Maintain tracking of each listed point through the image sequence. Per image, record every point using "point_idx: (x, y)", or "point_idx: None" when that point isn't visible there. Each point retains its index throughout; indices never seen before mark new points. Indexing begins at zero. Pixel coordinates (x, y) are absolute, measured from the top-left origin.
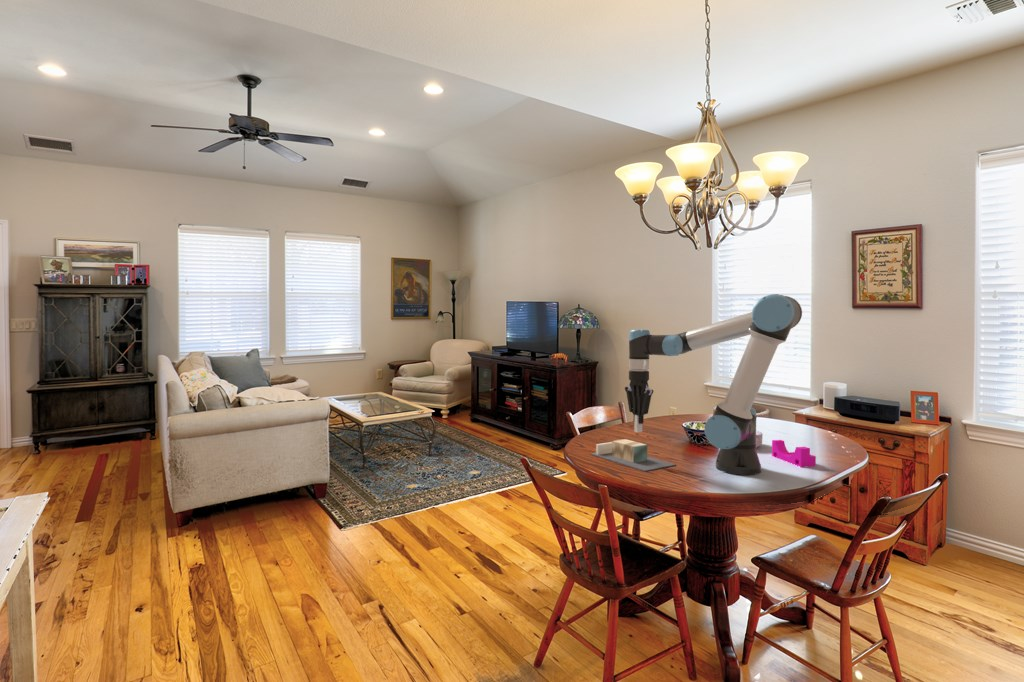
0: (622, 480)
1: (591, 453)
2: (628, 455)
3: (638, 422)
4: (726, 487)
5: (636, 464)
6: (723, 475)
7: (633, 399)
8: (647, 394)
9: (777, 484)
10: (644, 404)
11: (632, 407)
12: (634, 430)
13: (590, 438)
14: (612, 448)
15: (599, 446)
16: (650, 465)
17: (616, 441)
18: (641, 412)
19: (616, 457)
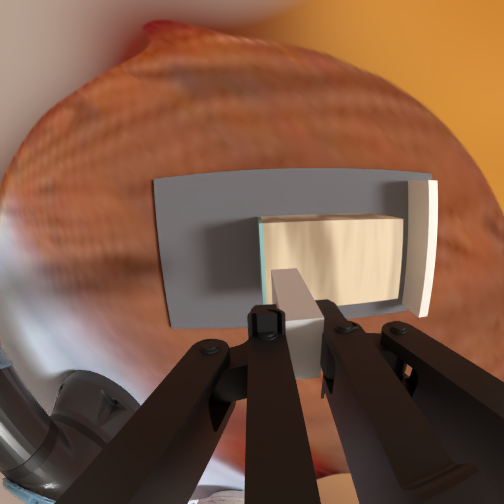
0: (125, 66)
1: (429, 175)
2: (290, 217)
3: (275, 305)
4: (8, 271)
5: (231, 207)
6: (65, 344)
7: (421, 437)
8: None
9: (18, 362)
10: (144, 421)
11: (415, 380)
12: (296, 270)
13: None
14: (386, 215)
15: (424, 188)
16: (195, 244)
17: (387, 228)
18: (221, 349)
19: (351, 212)
